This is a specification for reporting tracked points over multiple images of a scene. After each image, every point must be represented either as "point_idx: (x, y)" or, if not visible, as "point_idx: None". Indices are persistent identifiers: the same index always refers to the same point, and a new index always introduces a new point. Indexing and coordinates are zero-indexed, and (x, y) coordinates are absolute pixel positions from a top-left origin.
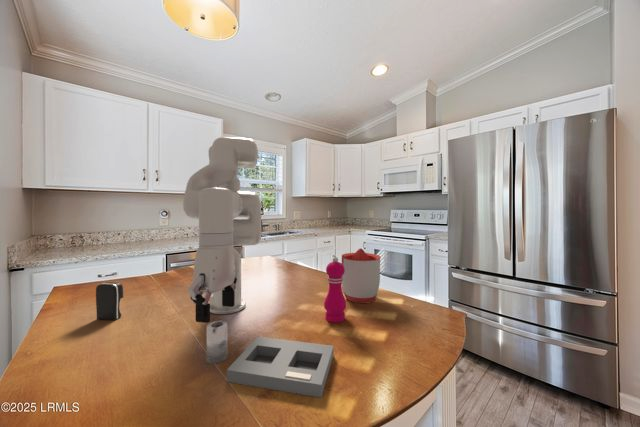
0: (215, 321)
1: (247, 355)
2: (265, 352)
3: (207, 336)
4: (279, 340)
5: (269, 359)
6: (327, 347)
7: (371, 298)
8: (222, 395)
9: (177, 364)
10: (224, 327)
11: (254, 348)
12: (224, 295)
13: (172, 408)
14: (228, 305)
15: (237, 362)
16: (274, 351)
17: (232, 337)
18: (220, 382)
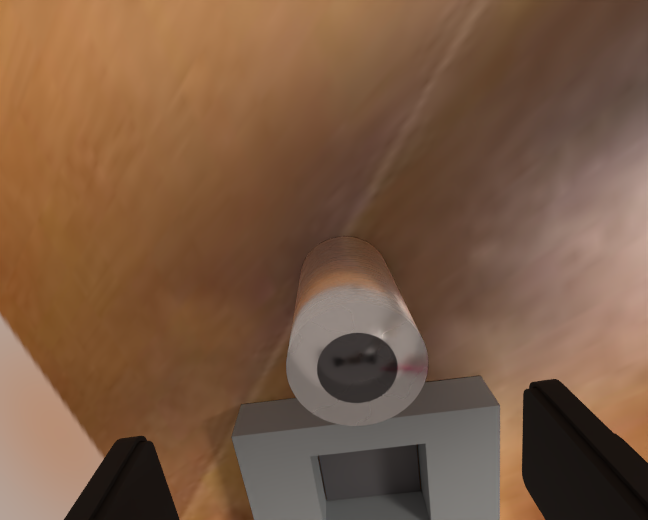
0: (399, 323)
1: (342, 448)
2: (421, 450)
3: (295, 317)
4: (488, 498)
5: (399, 464)
6: None
7: None
8: (188, 429)
9: (234, 146)
10: (350, 423)
11: (397, 446)
12: (605, 510)
13: (72, 340)
14: (526, 453)
15: (285, 444)
16: (425, 490)
17: (528, 221)
18: (230, 388)
